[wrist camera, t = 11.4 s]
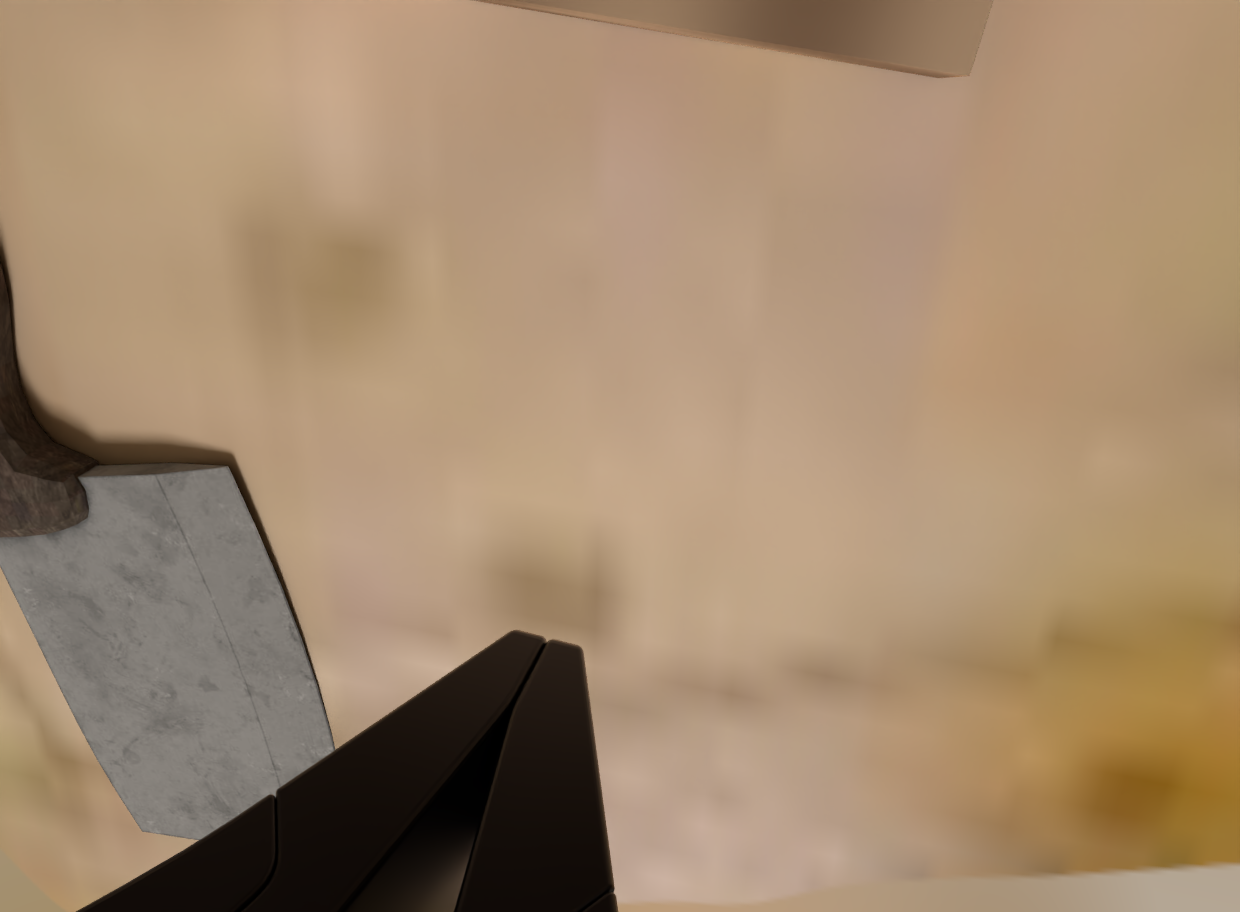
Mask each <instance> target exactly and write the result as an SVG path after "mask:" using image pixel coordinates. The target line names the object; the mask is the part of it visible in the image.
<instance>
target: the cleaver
mask: <svg viewBox="0 0 1240 912" xmlns="http://www.w3.org/2000/svg"><path fill="white" fill-rule="evenodd" d="M0 567H1V569H2V571H3V573H4V575H5V577H6V579H7V581H8V583H9V585H10V587H11V589H12V591H13V593H14V595H15V597H16V599H17V602H18V604H19V606H20V608H21V610H22V612H23V614H24V616H25V618H26V620H27V622H28V624H29V626H30V628H31V630H32V632H33V634H34V636H35V638H36V640H37V642H38V644H39V646H40V648H41V650H42V652H43V654H44V656H45V659H46V661H47V663H48V665H49V667H50V669H51V671H52V673H53V675H54V677H55V679H56V681H57V683H58V685H59V687H60V689H61V691H62V693H63V695H64V697H65V699H66V701H67V703H68V705H69V707H70V709H71V711H72V713H73V715H74V717H75V719H76V721H77V723H78V725H79V727H80V729H81V730H82V732H83V734H84V736H85V738H86V740H87V742H88V743H89V745H90V747H91V749H92V751H93V753H94V755H95V756H96V758H97V760H98V762H99V763H100V765H101V767H102V768H103V770H104V772H105V773H106V775H107V777H108V778H109V780H110V782H111V783H112V785H113V787H114V788H115V790H116V791H117V793H118V795H119V796H120V798H121V799H122V801H123V803H124V804H125V806H126V807H127V809H128V810H129V812H130V813H131V815H132V816H133V818H134V820H135V821H136V823H137V824H138V826H139V827H140V829H141V830H142V831H143V832H150V833H156V834H163V835H169V836H175V837H182V838H188V839H195V840H200V839H202V838H203V837H205V836H207V835H208V834H210V833H211V832H213V831H214V830H216V829H218V828H219V827H221V826H222V825H224V824H225V823H227V822H228V821H230V820H232V819H233V818H235V817H236V816H238V815H239V814H241V813H242V812H244V811H245V810H247V809H248V808H250V807H251V806H253V805H254V804H255V803H257V802H258V801H260V800H261V799H263V798H264V797H266V796H267V795H269V794H273V795H274V796H275V798H276V790H277V789H278V788H280V787H281V786H283V785H284V784H286V783H287V782H289V781H290V780H291V779H293V778H294V777H296V776H297V775H299V774H300V773H302V772H303V771H305V770H306V769H308V768H309V767H311V766H312V765H314V764H315V763H317V762H318V761H320V760H321V759H323V758H324V757H325V756H327V755H328V754H330V753H331V752H333V751H334V750H335V747H334V743H333V738H332V734H331V731H330V727H329V724H328V720H327V717H326V713H325V710H324V706H323V703H322V700H321V696H320V693H319V689H318V686H317V683H316V680H315V677H314V674H313V671H312V668H311V665H310V662H309V659H308V656H307V653H306V650H305V647H304V644H303V641H302V638H301V636H300V633H299V631H298V628H297V625H296V623H295V620H294V618H293V615H292V612H291V610H290V607H289V605H288V602H287V599H286V597H285V594H284V592H283V589H282V586H281V584H280V581H279V579H278V577H277V575H276V572H275V570H274V568H273V565H272V563H271V561H270V558H269V556H268V554H267V551H266V549H265V547H264V544H263V542H262V540H261V537H260V535H259V533H258V530H257V528H256V526H255V524H254V521H253V519H252V517H251V515H250V513H249V511H248V508H247V506H246V504H245V502H244V500H243V497H242V495H241V493H240V491H239V489H238V486H237V484H236V482H235V480H234V478H233V475H232V473H231V471H230V469H229V467H228V466H221V465H204V464H186V463H151V464H125V465H99V464H98V462H97V461H96V460H94V459H92V458H90V457H87V456H85V455H83V454H80V453H78V452H75V451H73V450H71V449H68V448H66V447H64V446H61V445H59V444H56V443H54V442H53V441H52V440H51V439H50V437H49V436H48V435H47V434H46V433H45V432H44V430H43V429H42V428H41V426H40V425H39V424H38V422H37V421H36V420H35V418H34V417H33V414H32V412H31V410H30V407H29V405H28V403H27V401H26V398H25V396H24V394H23V391H22V389H21V386H20V381H19V376H18V372H17V367H16V363H15V359H14V347H13V337H12V327H11V315H10V305H9V297H8V292H7V287H6V283H5V278H4V273H3V268H2V266H1V263H0Z"/></svg>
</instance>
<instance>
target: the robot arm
mask: <svg viewBox="0 0 1240 912" xmlns="http://www.w3.org/2000/svg"><path fill="white" fill-rule="evenodd" d="M76 912H618V907H617V900H616V895H615V894H614V880H613V873H612V865H611V858H610V850H609V842H608V835H607V827H606V820H605V812H604V805H603V797H602V789H601V782H600V774H599V767H598V759H597V752H596V744H595V737H594V729H593V721H592V714H591V706H590V699H589V691H588V684H587V676H586V668H585V661H584V653H583V650H582V648H581V647H580V646H578V645H575V644H571V643H567V642H563V641H559V640H555V639H552V640H549V641H548V642H547V641H546V639H545V638H544V637H543V636H539V635H536V634H532V633H528V632H524V631H520V630H514V631H511V632H509V633H507V634H506V635H504V636H503V637H501V638H500V639H498V640H497V641H495V642H494V643H493V644H491V645H490V646H488V647H487V648H485V649H484V650H482V651H481V652H479V653H478V654H476V655H475V656H473V657H472V658H470V659H469V660H467V661H466V662H464V663H463V664H461V665H460V666H459V667H457V668H456V669H454V670H453V671H451V672H450V673H448V674H447V675H445V676H444V677H442V678H441V679H439V680H438V681H436V682H435V683H433V684H432V685H430V686H429V687H427V688H426V689H425V690H423V691H422V692H420V693H419V694H417V695H416V696H414V697H413V698H411V699H410V700H408V701H407V702H405V703H404V704H402V705H401V706H399V707H398V708H396V709H395V710H393V711H392V712H391V713H389V714H388V715H386V716H385V717H383V718H382V719H380V720H379V721H377V722H376V723H374V724H373V725H371V726H370V727H368V728H367V729H365V730H364V731H362V732H361V733H359V734H358V735H357V736H355V737H354V738H352V739H351V740H349V741H348V742H346V743H345V744H343V745H342V746H340V747H339V748H337V749H336V750H334V751H333V752H331V753H330V754H328V755H327V756H325V757H324V758H323V759H321V760H320V761H318V762H317V763H315V764H314V765H312V766H311V767H309V768H308V769H306V770H305V771H303V772H302V773H300V774H299V775H297V776H296V777H294V778H293V779H291V780H290V781H289V782H287V783H286V784H284V785H283V786H281V787H280V788H278V789H277V790H276V798H275V796H274V795H273V794H269V795H267V796H266V797H264V798H263V799H261V800H260V801H258V802H257V803H255V804H254V805H253V806H251V807H250V808H248V809H247V810H245V811H244V812H242V813H241V814H239V815H238V816H236V817H235V818H233V819H232V820H230V821H228V822H227V823H225V824H224V825H222V826H221V827H219V828H218V829H216V830H214V831H213V832H211V833H210V834H208V835H207V836H205V837H203V838H202V839H200V840H199V841H197V842H196V843H194V844H193V845H191V846H189V847H188V848H186V849H185V850H183V851H181V852H180V853H178V854H176V855H174V856H173V857H171V858H169V859H168V860H166V861H164V862H162V863H161V864H159V865H157V866H156V867H154V868H152V869H150V870H149V871H147V872H145V873H144V874H142V875H140V876H138V877H137V878H135V879H133V880H132V881H130V882H128V883H126V884H125V885H123V886H121V887H119V888H118V889H116V890H114V891H112V892H110V893H109V894H107V895H105V896H103V897H101V898H100V899H98V900H96V901H94V902H92V903H91V904H89V905H87V906H85V907H83V908H82V909H80V910H78V911H76Z"/></svg>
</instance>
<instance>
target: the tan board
mask: <svg viewBox="0 0 1240 912" xmlns="http://www.w3.org/2000/svg"><path fill="white" fill-rule="evenodd" d="M474 1H480V2H486V3H492V4H498V5H504V6H510V7H516V8H522V9H528V10H534V11H540V12H546V13H552V14H558V15H564V16H570V17H576V18H582V19H588V20H594V21H600V22H606V23H612V24H618V25H624V26H630V27H636V28H642V29H648V30H654V31H660V32H666V33H672V34H678V35H684V36H690V37H696V38H702V39H708V40H714V41H720V42H726V43H732V44H738V45H744V46H750V47H756V48H762V49H768V50H774V51H780V52H786V53H792V54H798V55H804V56H810V57H816V58H822V59H828V60H834V61H840V62H846V63H852V64H858V65H864V66H870V67H876V68H882V69H888V70H894V71H900V72H906V73H912V74H918V75H924V76H930V77H936V78H946V77H960V76H970V73H971V70H972V66H973V63H974V60H975V57H976V54H977V51H978V48H979V44H980V41H981V38H982V35H983V32H984V29H985V25H986V22H987V19H988V16H989V13H990V10H991V7H992V3H993V0H474Z"/></svg>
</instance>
